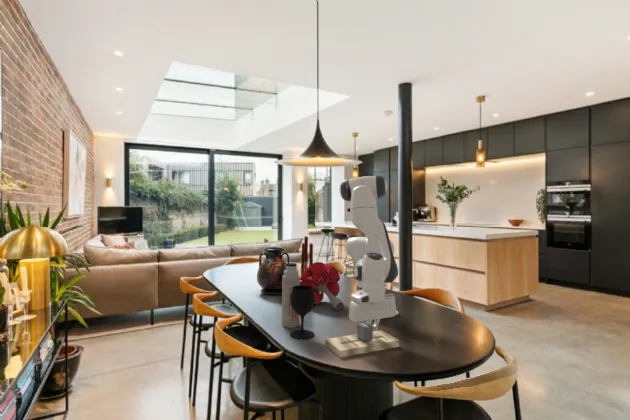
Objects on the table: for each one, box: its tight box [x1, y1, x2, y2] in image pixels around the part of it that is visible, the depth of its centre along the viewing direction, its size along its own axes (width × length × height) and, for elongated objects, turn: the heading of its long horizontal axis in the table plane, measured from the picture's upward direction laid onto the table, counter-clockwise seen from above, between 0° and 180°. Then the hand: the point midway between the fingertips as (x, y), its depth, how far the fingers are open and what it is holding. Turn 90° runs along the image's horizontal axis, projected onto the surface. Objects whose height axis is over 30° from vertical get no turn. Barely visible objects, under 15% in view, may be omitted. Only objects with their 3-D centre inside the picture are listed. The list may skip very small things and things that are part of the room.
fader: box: [356, 322, 374, 341], centre depth 136 cm, size 4×5×5 cm
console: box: [324, 330, 400, 359], centre depth 135 cm, size 26×12×3 cm, turn 114°
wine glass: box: [289, 285, 315, 340], centre depth 146 cm, size 10×10×20 cm
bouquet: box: [300, 261, 344, 311], centre depth 192 cm, size 22×24×30 cm
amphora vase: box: [256, 246, 291, 296], centre depth 218 cm, size 22×22×28 cm
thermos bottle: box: [281, 262, 301, 328], centre depth 159 cm, size 8×8×28 cm
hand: (373, 330), depth 137 cm, fingers closed
